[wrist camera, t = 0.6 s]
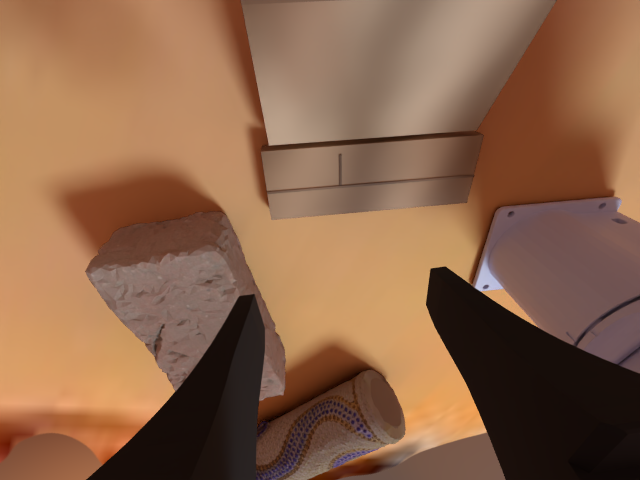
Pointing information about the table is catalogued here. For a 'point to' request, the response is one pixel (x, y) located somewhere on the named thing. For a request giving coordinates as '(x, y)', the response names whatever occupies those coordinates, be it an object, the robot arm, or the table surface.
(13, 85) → the table surface
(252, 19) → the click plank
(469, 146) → the laid board
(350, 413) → the decorative bottle
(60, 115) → the table surface
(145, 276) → the brick
